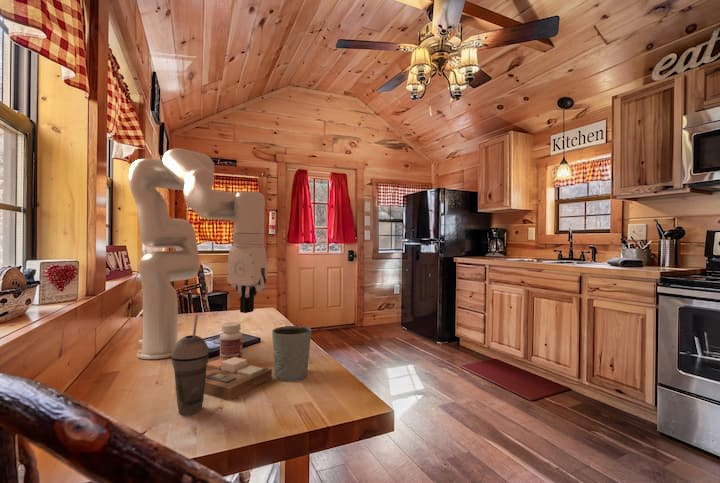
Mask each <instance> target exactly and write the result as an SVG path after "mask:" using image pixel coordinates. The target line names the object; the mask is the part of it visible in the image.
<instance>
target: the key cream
mask: <svg viewBox="0 0 720 483" xmlns="http://www.w3.org/2000/svg"><path fill="white" fill-rule="evenodd" d="M247 364H248V359H246V358H242V359H241V358H236V357H233V358H230V359H228V360H225V361H222V362H221V370H224V371H228V372H232V373H235V372H237V371H238V370H240V369H243V368H245V367H247Z"/></svg>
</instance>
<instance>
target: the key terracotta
mask: <svg viewBox="0 0 720 483" xmlns="http://www.w3.org/2000/svg"><path fill="white" fill-rule="evenodd" d="M222 361H225V360H222V359H220V358H219V359H216V360H213V361H210V362H207V366H206V367H209V368H213V369H217V370H218V369H220V368H221V362H222Z"/></svg>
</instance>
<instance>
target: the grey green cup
mask: <svg viewBox="0 0 720 483" xmlns="http://www.w3.org/2000/svg"><path fill="white" fill-rule="evenodd" d="M312 331H313V330H312V329H311V328H310V327H307V326H301V325H287V326H286V325H285V326H279V327H275V328H273V329H272V331H271V333H272V335H271V336H272V345H273V346H272V347H273V348H272V349H273V362H274V365H273V366H274V368H273V370H274V378H275V379H276V380H278V381H281V382H297V381H301V380H304V379H305V378H306V377H308V374H309V373H308V372H309V371H308V370H309V357H310V349H311V348H310V347H311V339H312Z"/></svg>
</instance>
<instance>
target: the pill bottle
mask: <svg viewBox="0 0 720 483" xmlns="http://www.w3.org/2000/svg"><path fill="white" fill-rule="evenodd" d="M241 330H242V329H241V323H240V322H236V321H232V322H229V321H228V322H224V323H221V333H220V335H219V359H221V358H222V359H226V360H228V359H230V358H233V357H236V358H241V359H243V332H241Z"/></svg>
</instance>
